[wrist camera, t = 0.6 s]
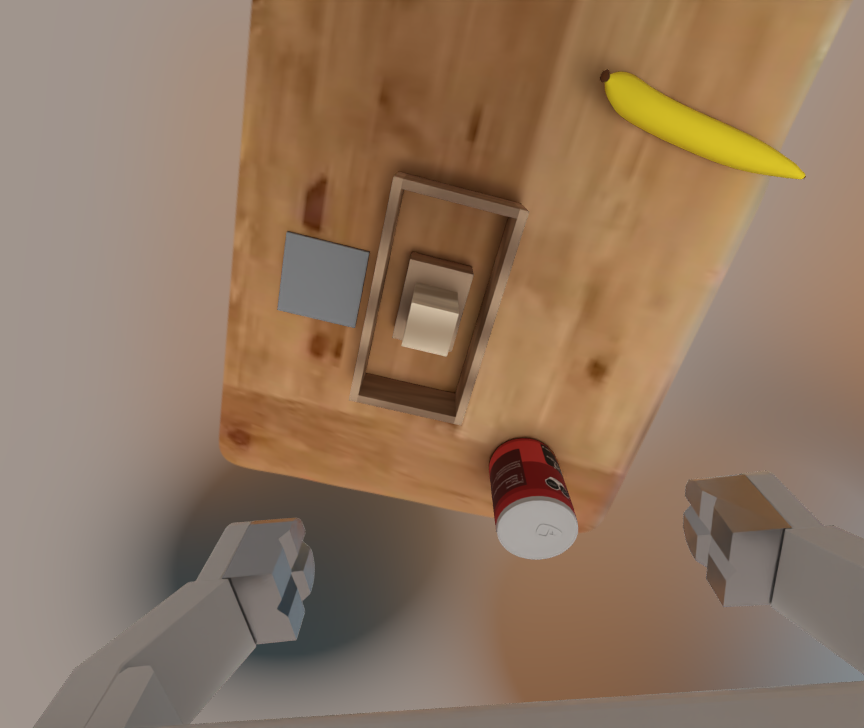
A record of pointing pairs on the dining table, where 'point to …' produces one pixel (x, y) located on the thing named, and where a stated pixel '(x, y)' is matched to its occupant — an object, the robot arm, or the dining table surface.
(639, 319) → the dining table surface
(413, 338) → the block
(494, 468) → the canned food
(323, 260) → the mat
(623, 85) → the banana
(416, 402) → the crate
